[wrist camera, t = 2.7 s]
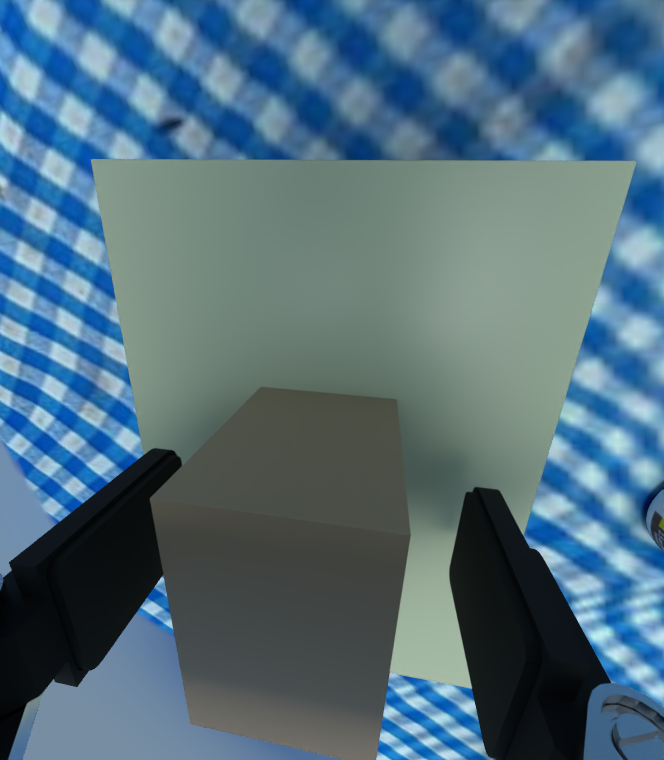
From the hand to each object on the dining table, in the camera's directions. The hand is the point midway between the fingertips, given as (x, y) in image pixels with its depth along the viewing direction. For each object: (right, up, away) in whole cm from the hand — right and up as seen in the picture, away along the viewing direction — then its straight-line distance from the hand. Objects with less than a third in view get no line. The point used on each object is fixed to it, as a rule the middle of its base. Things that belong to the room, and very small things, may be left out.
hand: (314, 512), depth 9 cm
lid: (+1, +1, +4) cm, 4 cm away
